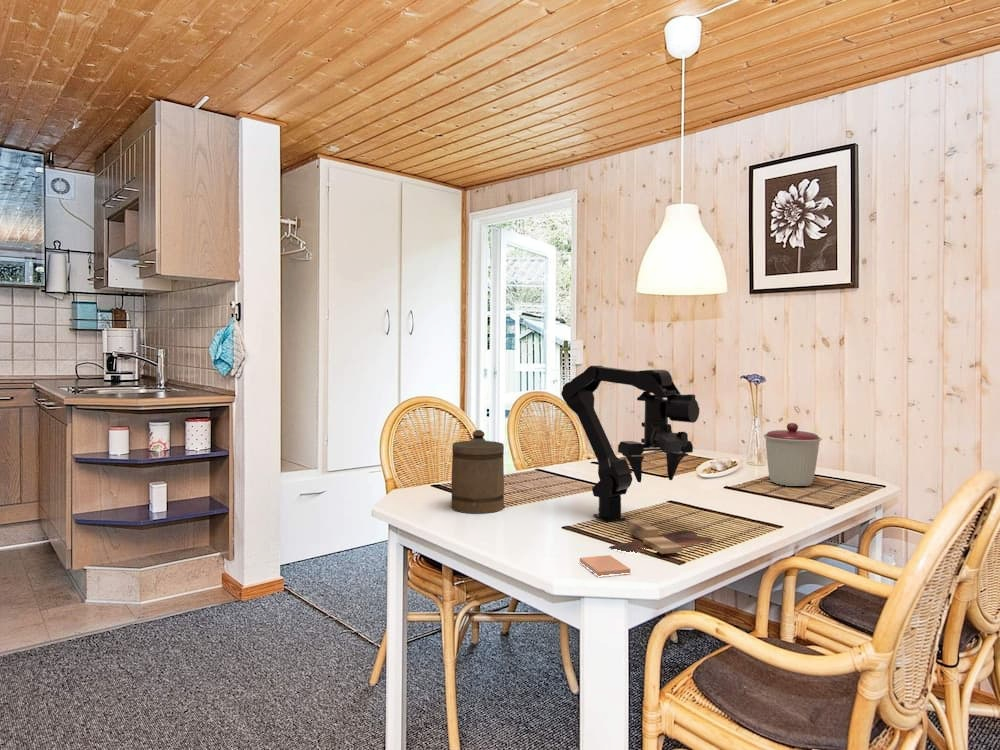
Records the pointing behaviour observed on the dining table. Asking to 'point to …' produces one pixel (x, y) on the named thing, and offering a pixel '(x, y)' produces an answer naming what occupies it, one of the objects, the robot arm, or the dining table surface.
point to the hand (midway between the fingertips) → (655, 481)
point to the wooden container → (477, 475)
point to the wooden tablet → (677, 537)
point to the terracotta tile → (604, 565)
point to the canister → (792, 456)
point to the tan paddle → (652, 537)
